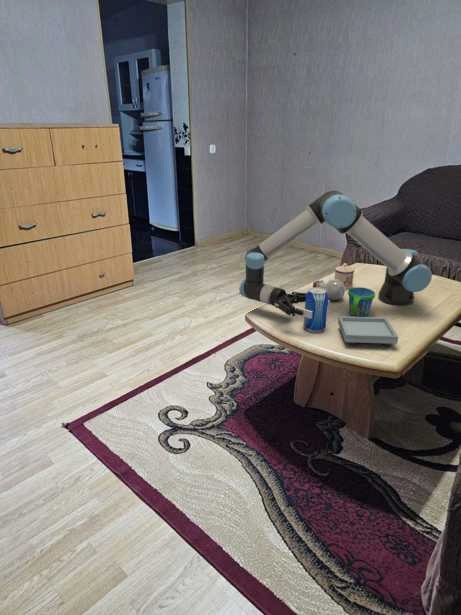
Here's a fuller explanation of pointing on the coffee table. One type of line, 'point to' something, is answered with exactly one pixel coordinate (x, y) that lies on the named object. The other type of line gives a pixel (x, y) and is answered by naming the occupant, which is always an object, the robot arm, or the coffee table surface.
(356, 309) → the snack cup
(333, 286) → the potion bottle
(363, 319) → the grey rimmed tray
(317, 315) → the beer can
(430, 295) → the coffee table surface
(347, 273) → the teacup with lid
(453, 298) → the coffee table surface
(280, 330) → the coffee table surface
